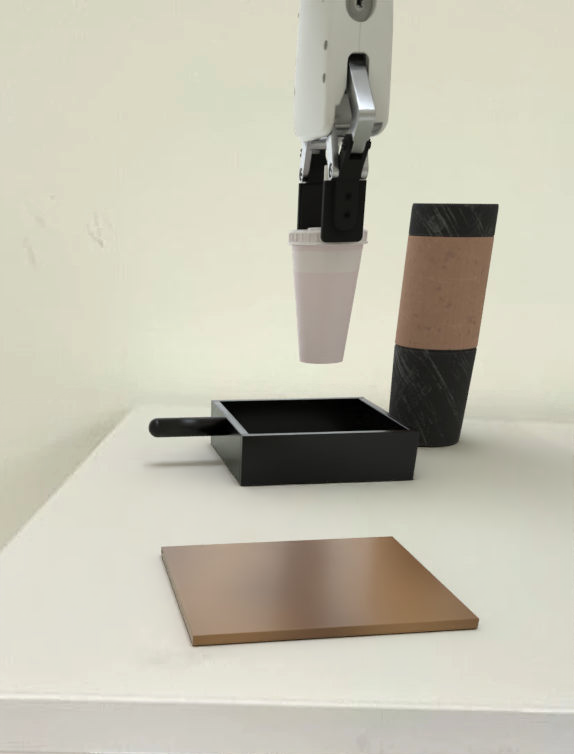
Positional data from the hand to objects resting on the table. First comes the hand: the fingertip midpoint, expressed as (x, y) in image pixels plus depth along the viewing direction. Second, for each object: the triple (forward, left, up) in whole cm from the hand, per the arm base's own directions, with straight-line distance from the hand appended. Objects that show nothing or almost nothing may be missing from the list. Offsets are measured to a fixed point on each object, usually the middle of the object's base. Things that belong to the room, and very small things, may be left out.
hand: (328, 238), depth 70 cm
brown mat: (+9, +30, -18) cm, 36 cm away
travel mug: (-13, -7, -18) cm, 23 cm away
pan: (+4, 0, -18) cm, 18 cm away
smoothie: (0, 0, -9) cm, 9 cm away
